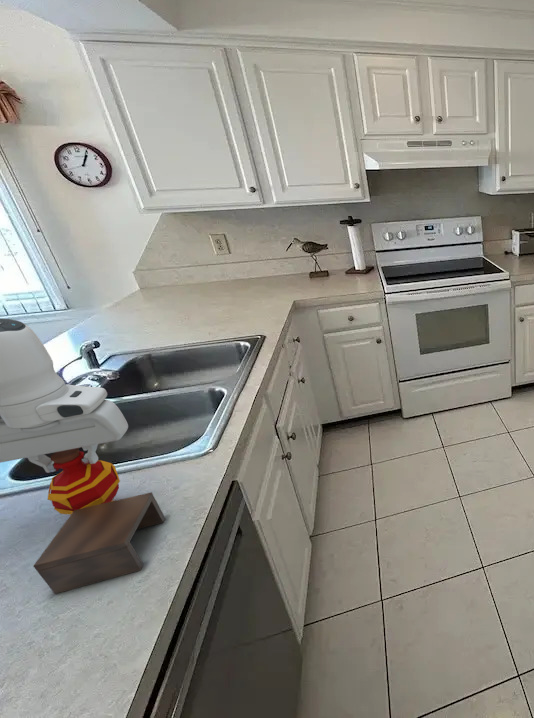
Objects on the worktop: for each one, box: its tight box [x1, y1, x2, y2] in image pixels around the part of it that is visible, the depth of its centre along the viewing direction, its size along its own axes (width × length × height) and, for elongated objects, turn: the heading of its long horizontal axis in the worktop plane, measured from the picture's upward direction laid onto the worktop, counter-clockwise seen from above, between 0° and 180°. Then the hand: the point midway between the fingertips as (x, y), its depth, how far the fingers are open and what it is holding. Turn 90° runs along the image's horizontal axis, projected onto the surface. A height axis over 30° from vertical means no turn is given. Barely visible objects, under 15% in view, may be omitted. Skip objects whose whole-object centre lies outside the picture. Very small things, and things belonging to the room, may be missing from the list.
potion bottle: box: [47, 448, 121, 516], centre depth 81 cm, size 10×10×15 cm
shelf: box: [33, 492, 166, 595], centre depth 74 cm, size 12×12×7 cm
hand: (74, 466), depth 79 cm, fingers closed on potion bottle, 4 cm apart
